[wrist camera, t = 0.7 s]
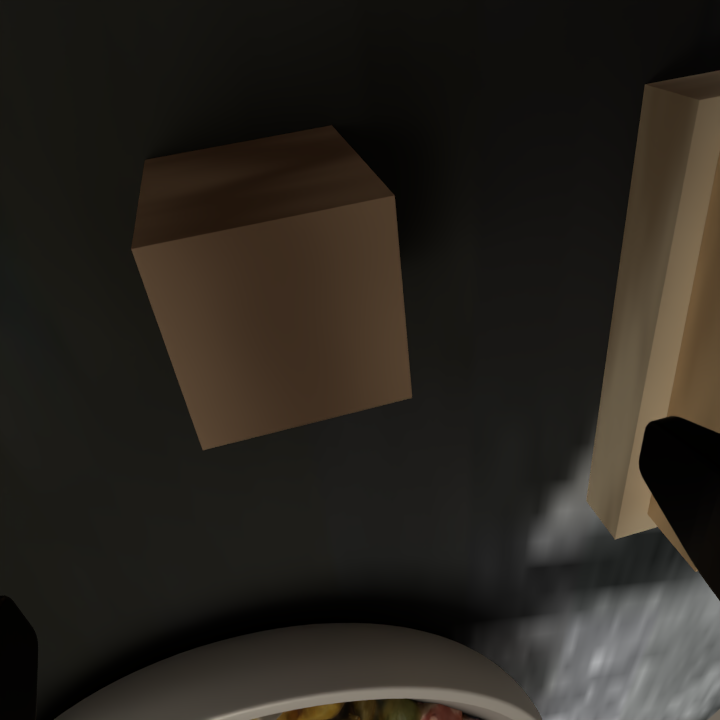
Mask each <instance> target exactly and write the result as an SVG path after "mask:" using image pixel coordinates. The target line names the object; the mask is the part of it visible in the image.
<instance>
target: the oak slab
mask: <svg viewBox="0 0 720 720" xmlns="http://www.w3.org/2000/svg"><path fill="white" fill-rule="evenodd" d="M669 416H678V417H681V418H684V419H686V420H689V421H691V422H693V423H696V424H698V425H701V426H703V427H706V428H708V429H710V430H713V431H715V432H718V433H720V152H719V157H718V162H717V167H716V172H715V177H714V182H713V187H712V192H711V197H710V202H709V207H708V212H707V217H706V222H705V227H704V232H703V237H702V242H701V247H700V252H699V257H698V262H697V267H696V272H695V277H694V282H693V288H692V293H691V298H690V303H689V308H688V313H687V318H686V323H685V328H684V333H683V338H682V343H681V348H680V353H679V358H678V363H677V368H676V373H675V378H674V383H673V388H672V393H671V398H670V403H669V408H668V413H667V417H669ZM647 514H648V516H649V517H650V518H651V519H652V520H653V522H654V523H655V524H656V525H657V526H658V527H659V529H660V530H661V531H662V532H663V533H664V535H665V536H666V537H667V538H668V539H669V541H670V542H671V543H672V544H673V545H674V547H675V548H676V549H677V550H678V551H679V553H680V554H681V555H682V556H683V557H684V559H685V560H686V561H687V562H688V563H689V565H690V566H691V567H692V568H693V569H694V571H695V572H696V571H698V570H697V568H696V567H695V566H694V564H693V562H692V561H691V559H690V558H689V556H688V554H687V553H686V551H685V549H684V548H683V546H682V544H681V543H680V541H679V539H678V538H677V536H676V534H675V532H674V531H673V529H672V527H671V526H670V524H669V522H668V521H667V519H666V517H665V515H664V514H663V512H662V510H661V509H660V507H659V505H658V503H657V502H656V500H655V498H654V497H653V495H652V493H651V498H650V503H649V508H648V513H647Z"/></svg>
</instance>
